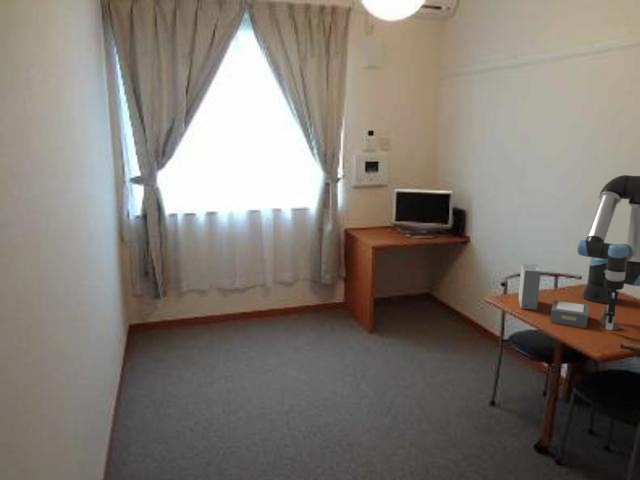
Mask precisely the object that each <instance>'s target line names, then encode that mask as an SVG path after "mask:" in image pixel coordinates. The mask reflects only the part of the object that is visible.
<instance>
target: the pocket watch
mask: <svg viewBox="0 0 640 480" xmlns="http://www.w3.org/2000/svg"><path fill="white" fill-rule="evenodd" d="M606 314H607V305H606V304H604V305H603V310H602V312H601V315H600V324H601V325H603V327H605V328H606V320H607V315H606ZM620 329H621V326H620V325H619V324H617V323H613V330H614V331H615V330H616V331H617V330H620ZM613 330H612V331H613Z"/></svg>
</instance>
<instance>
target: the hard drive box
mask: <svg viewBox="0 0 640 480" xmlns="http://www.w3.org/2000/svg"><path fill="white" fill-rule="evenodd" d="M520 264H521V265H520V277H519V287H518V288H519V289H518V301H519V306H520V309H522V310H535V311H537V310H538V303H539V293H540V283H541V274H542V271H541V270H540V268H539V266H538V264H537V263H530V262H529V263H527V262H521V263H520Z"/></svg>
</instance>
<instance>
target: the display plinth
mask: <svg viewBox="0 0 640 480" xmlns="http://www.w3.org/2000/svg"><path fill="white" fill-rule="evenodd" d="M589 306H590V305H589V304H584V303H577V302H570V301H562V300H556V299H554V300H553V302H552V307H551V309H550V320H549V321H550V323H553V324H560V325H566V326H573V327H578V328H585V329H587V326H588V318H589Z"/></svg>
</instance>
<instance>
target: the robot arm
mask: <svg viewBox="0 0 640 480" xmlns="http://www.w3.org/2000/svg"><path fill="white" fill-rule="evenodd" d="M598 198H599V202H598V205H597V208H596V209H595V210H596V211H595V213H594V216H593V219H592V222H591V224H590V227H589V231H588V233H587V236H586V238H585V239H580V241H578V245H577V254H578V255H579V256H583V257H586V258H590V261H589V264H588V266H589V267H588V268H589V269H588V277H587V278H588V279H587V283H586V286H585V288H584V290H583V291H582V298H583V299H584V300H586V301H590V302H594V303H596V304H597V303H598V304H607V305H606V310H607V314H606V315H607V319H606V322H605V323H606V328H605V330H610V331H613V323H614V321H615V316H616V312H615V311H616V305H617V301H618V297H619V291H620V290H623V289H624V286H625V285H628V286H632V287H640V175H628V174H624V175H619V176H615V177H614V178H613V179H611V180H609V181H608V182H607V183H606V184H605V185H604V186H603V187H602V189H601V191H600V193H599V196H598ZM622 200H628V205H629V206H630V207H631V209H630V216H629V224H628V233H627V238H626V239H627V240H626V241H627V242H626V243H608V242H605V240H606V237H607V235H608V232H609V228H610V226H611V223H612V219H613V217H614V214H615V211H616V208H617V206H618V204H620V203H621V201H622ZM618 290H619V291H618ZM614 324H615V323H614Z"/></svg>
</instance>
